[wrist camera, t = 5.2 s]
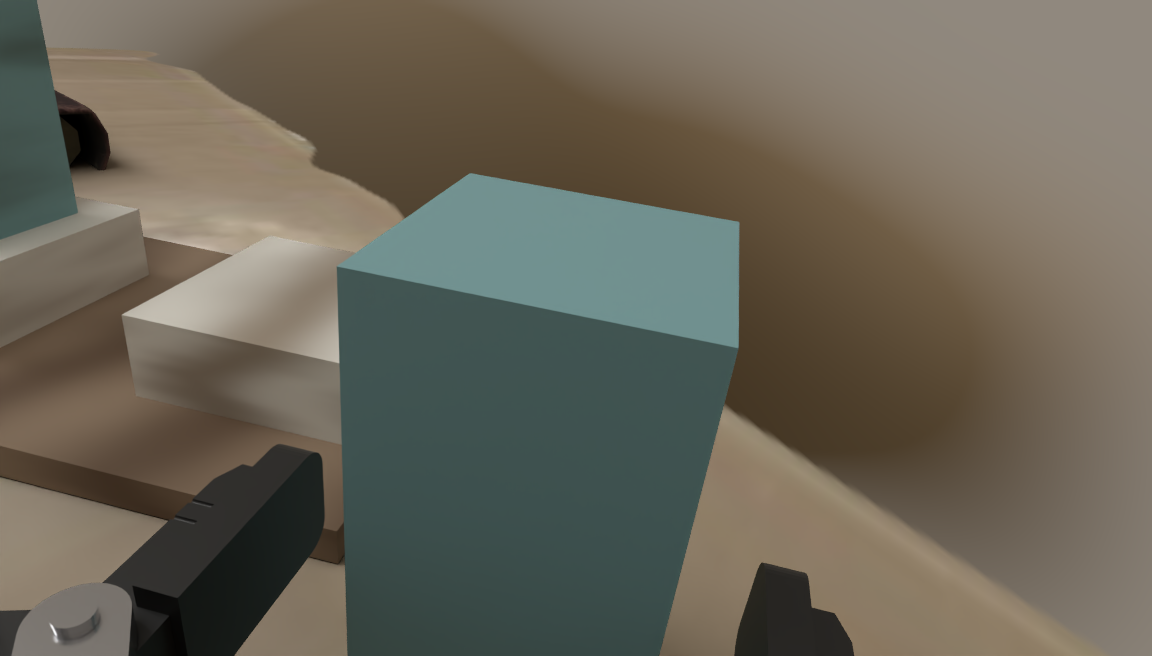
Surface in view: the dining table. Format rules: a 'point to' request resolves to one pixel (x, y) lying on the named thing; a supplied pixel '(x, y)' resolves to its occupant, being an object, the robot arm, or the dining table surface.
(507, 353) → the teal pillar
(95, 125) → the diary
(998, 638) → the dining table surface
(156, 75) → the dining table surface
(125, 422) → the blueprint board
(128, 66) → the dining table surface
